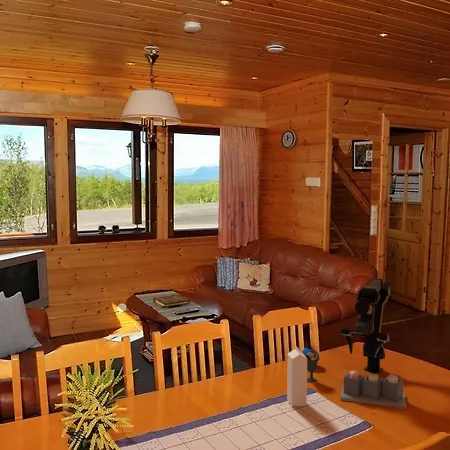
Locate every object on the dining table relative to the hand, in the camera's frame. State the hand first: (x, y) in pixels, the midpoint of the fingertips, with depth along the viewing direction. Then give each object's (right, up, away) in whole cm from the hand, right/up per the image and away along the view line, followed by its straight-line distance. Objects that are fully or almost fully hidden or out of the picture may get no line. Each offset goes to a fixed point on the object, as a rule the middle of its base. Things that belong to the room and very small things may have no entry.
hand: (362, 355), depth 196 cm
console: (+2, -15, -6) cm, 16 cm away
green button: (+2, -10, -7) cm, 12 cm away
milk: (-28, -16, -10) cm, 34 cm away
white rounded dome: (+9, -10, -8) cm, 16 cm away
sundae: (-19, -14, +11) cm, 26 cm away
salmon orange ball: (-4, -9, -4) cm, 11 cm away
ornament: (-17, -12, +27) cm, 34 cm away
